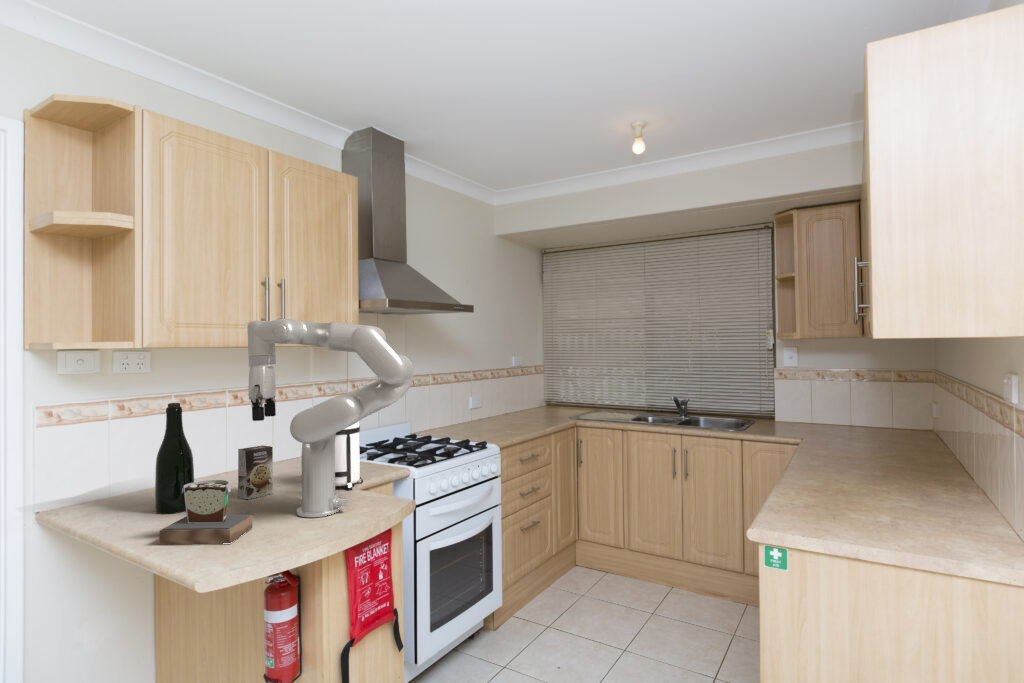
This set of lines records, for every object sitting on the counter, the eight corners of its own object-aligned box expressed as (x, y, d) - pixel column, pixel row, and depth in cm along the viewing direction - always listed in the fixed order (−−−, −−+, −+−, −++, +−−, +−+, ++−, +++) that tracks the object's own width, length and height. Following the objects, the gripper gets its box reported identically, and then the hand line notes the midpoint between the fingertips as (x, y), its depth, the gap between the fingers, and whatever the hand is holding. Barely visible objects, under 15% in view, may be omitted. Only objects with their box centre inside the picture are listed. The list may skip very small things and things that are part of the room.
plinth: (252, 528, 154) (252, 514, 154) (230, 544, 142) (229, 528, 142) (187, 529, 154) (187, 514, 154) (159, 545, 142) (159, 529, 142)
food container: (240, 515, 153) (239, 479, 153) (228, 523, 146) (228, 484, 146) (195, 516, 153) (194, 479, 153) (181, 523, 146) (181, 485, 146)
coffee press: (312, 485, 200) (311, 401, 200) (356, 479, 209) (355, 398, 209) (325, 496, 185) (324, 406, 185) (372, 489, 194) (371, 402, 194)
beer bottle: (179, 503, 180) (178, 400, 180) (202, 506, 176) (201, 401, 176) (147, 512, 170) (145, 404, 170) (171, 516, 166) (169, 405, 166)
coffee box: (247, 500, 182) (246, 450, 182) (237, 497, 186) (237, 448, 186) (273, 493, 190) (273, 446, 190) (263, 491, 194) (263, 444, 194)
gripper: (260, 361, 177) (262, 415, 177) (237, 363, 160) (239, 423, 160) (284, 360, 177) (286, 414, 177) (264, 362, 160) (267, 421, 160)
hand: (264, 418), depth 169 cm, fingers open, 9 cm apart
